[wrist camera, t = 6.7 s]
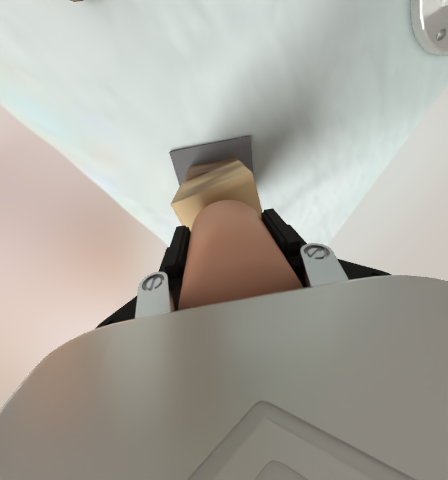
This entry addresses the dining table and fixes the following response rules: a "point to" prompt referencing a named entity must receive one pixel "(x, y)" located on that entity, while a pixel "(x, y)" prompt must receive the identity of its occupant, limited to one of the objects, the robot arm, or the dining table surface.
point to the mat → (211, 155)
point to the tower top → (215, 191)
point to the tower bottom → (207, 167)
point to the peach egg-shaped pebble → (232, 257)
